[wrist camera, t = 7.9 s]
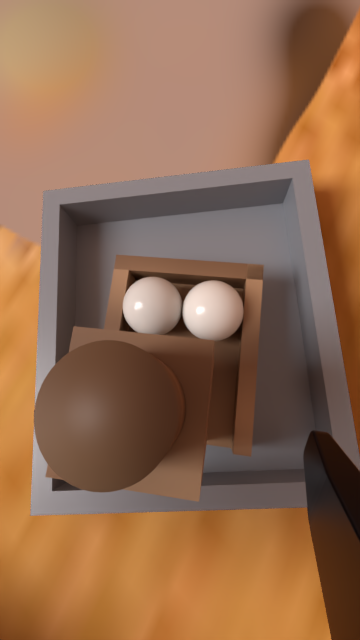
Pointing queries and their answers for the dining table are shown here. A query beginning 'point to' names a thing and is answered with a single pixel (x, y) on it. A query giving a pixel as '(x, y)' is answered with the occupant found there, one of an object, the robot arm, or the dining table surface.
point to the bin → (275, 321)
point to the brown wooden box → (151, 390)
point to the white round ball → (152, 306)
